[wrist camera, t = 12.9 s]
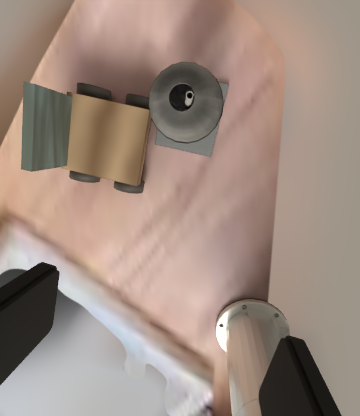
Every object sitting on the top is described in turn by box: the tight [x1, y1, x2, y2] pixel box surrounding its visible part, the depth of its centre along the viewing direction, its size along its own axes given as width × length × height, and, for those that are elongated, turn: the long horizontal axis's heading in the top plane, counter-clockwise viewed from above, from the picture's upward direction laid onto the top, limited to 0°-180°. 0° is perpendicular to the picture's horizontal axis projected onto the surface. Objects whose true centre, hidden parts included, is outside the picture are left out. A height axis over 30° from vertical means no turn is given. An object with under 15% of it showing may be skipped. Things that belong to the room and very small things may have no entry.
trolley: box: [21, 82, 151, 193], centre depth 31 cm, size 12×13×12 cm
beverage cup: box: [149, 62, 224, 144], centre depth 25 cm, size 7×7×20 cm
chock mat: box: [155, 82, 229, 157], centre depth 35 cm, size 9×10×1 cm
